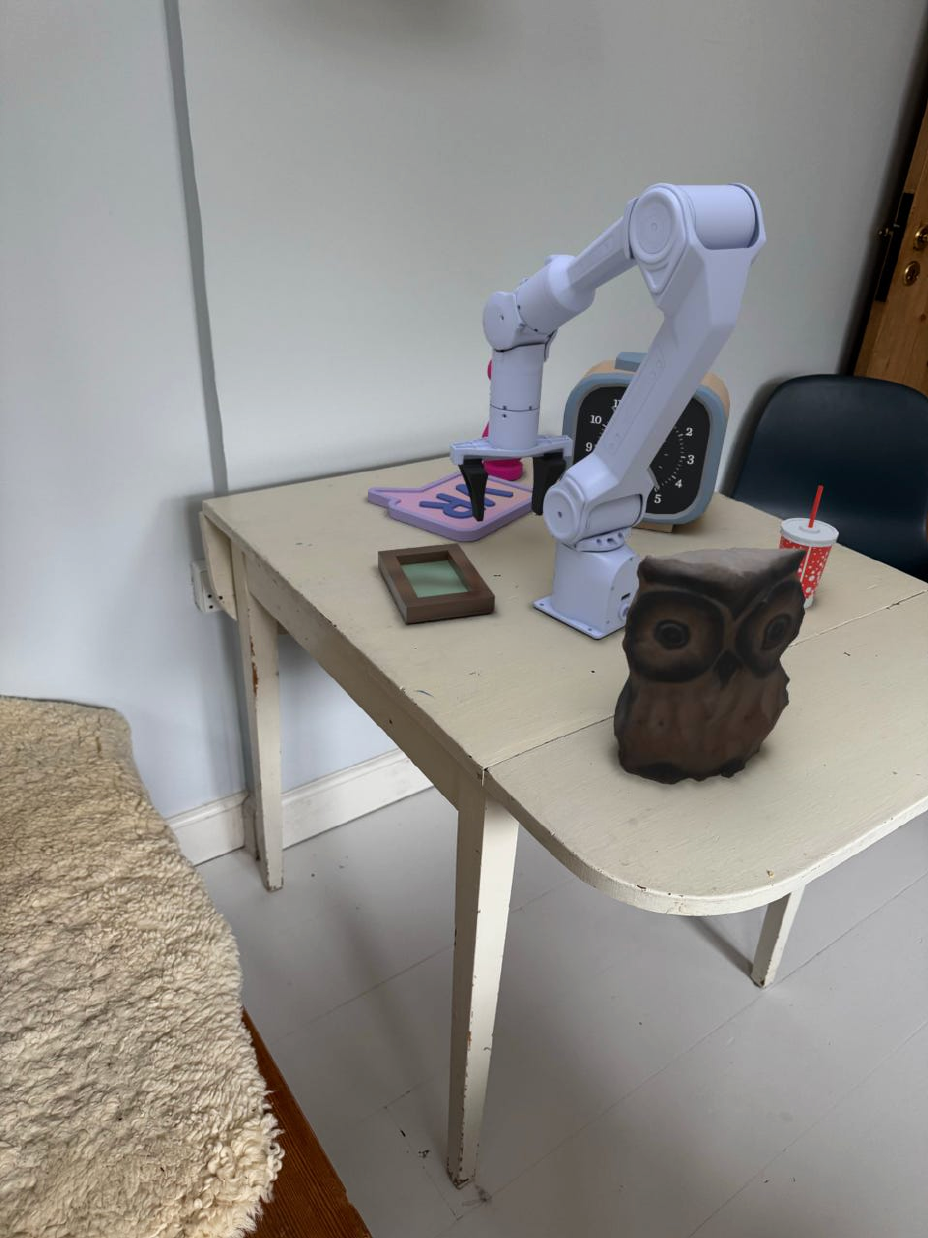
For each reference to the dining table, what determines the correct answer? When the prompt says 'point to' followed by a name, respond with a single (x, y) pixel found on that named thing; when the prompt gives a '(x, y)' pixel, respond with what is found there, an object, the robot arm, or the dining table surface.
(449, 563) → the frame
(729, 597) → the owl
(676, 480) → the alarm clock
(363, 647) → the dining table surface
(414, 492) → the icon
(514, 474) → the pepper mill
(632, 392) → the robot arm
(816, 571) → the beverage cup
